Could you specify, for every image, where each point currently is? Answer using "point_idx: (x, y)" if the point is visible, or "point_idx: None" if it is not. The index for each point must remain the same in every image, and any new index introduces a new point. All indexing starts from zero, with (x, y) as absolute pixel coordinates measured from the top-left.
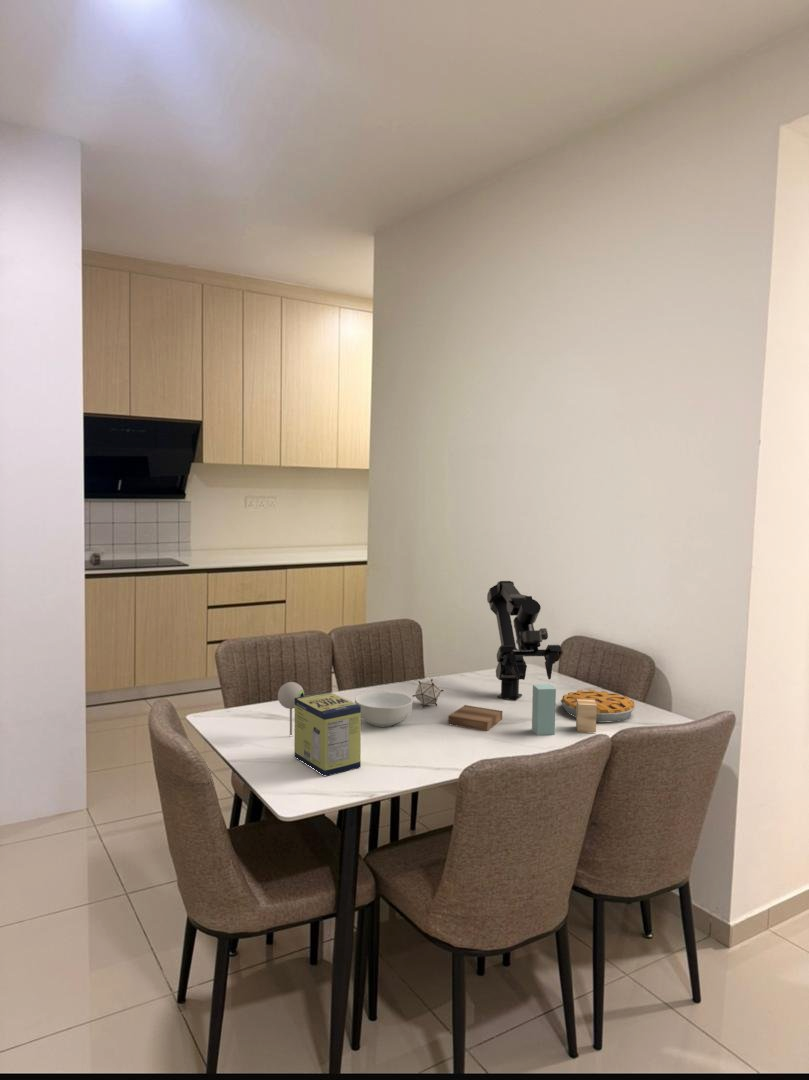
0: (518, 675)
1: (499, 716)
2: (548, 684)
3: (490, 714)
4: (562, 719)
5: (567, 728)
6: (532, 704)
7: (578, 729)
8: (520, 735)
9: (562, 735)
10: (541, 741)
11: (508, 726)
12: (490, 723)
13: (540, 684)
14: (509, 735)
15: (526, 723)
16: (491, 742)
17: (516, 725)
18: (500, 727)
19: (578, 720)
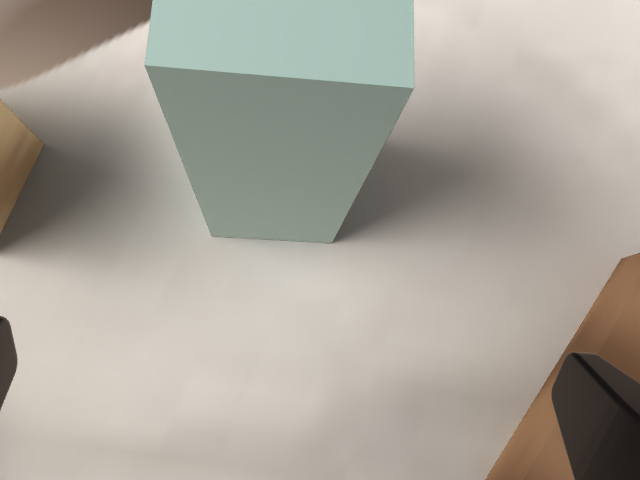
0: (618, 378)
1: (527, 445)
2: (180, 48)
3: None
4: (6, 432)
5: (75, 224)
6: (361, 185)
7: (31, 134)
8: (437, 150)
9: None
10: None
11: (469, 326)
12: (617, 296)
13: (302, 69)
14: (502, 161)
15: (326, 372)
16: (624, 75)
17: (409, 339)
18: (526, 314)
19: (3, 104)
